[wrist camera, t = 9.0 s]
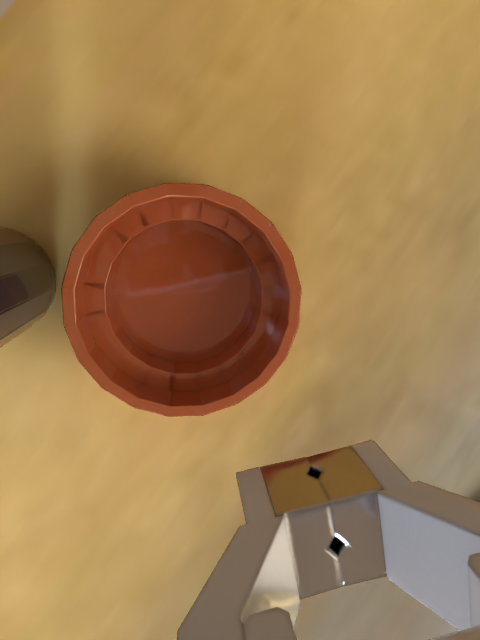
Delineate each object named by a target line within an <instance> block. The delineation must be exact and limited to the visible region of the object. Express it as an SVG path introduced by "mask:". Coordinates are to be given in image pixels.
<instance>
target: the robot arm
mask: <svg viewBox="0 0 480 640" xmlns="http://www.w3.org/2000/svg"><path fill="white" fill-rule="evenodd" d="M236 478H237V483H238V487H239V492H240V497H241V502H242V507H243V511H244V516H245V521H246V525H242V526H239V527H238V529H237V531H236V533H235V534H234V536H233V538H232V539H231V541H230V543H229V544H228V546H227V548H226V549H225V551H224V553H223V555H222V556H221V558H220V560H219V561H218V563H217V565H216V566H215V568H214V570H213V572H212V573H211V575H210V577H209V578H208V580H207V582H206V583H205V585H204V587H203V589H202V590H201V592H200V594H199V595H198V597H197V599H196V600H195V602H194V604H193V605H192V607H191V609H190V611H189V612H188V614H187V616H186V617H185V619H184V621H183V622H182V624H181V626H180V628H179V629H178V631H177V640H297V639H296V635H295V632H294V626H295V622H296V618H297V614H298V610H299V606H300V599H303V598H307V597H310V596H313V595H317V594H320V593H323V592H326V591H330V590H333V589H336V588H339V587H343V586H347V585H351V584H356V583H360V582H364V581H368V580H372V579H377V578H381V577H385V576H387V579H389V580H390V581H392V582H393V583H394V584H396V585H397V586H398V587H400V588H401V589H403V590H404V591H405V592H407V593H408V594H410V595H411V596H412V597H414V598H415V599H417V600H418V601H419V602H421V603H422V604H424V605H425V606H426V607H428V608H429V609H431V610H432V611H433V612H435V613H436V614H437V615H439V616H440V617H442V618H443V619H444V620H446V621H447V622H449V623H450V624H451V625H453V626H454V627H456V628H457V629H458V630H460V631H457V632H453V633H450V634H446V635H443V636H439V637H436V638H432V639H429V640H480V502H478V501H475V500H472V499H469V498H466V497H463V496H461V495H458V494H455V493H452V492H449V491H446V490H443V489H441V488H438V487H435V486H432V485H429V484H426V483H424V482H421V481H417V482H411V481H410V480H409V479H408V478H407V476H406V475H405V474H404V473H403V472H402V471H401V470H400V469H399V468H398V467H397V465H396V464H395V463H394V462H393V461H392V460H391V459H390V458H389V457H388V455H387V454H386V453H385V452H384V451H383V450H382V449H381V448H380V447H379V446H378V444H377V443H376V442H375V441H373V440H368V441H364V442H361V443H357V444H354V445H350V446H348V447H344V448H340V449H336V450H332V451H329V452H325V453H321V454H317V455H314V456H310V457H303V458H298V459H294V460H289V461H284V462H280V463H275V464H271V465H266V466H261V467H260V468H259V467H256V468H252V469H248V470H244V471H240V472H236Z"/></svg>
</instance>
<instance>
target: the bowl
mask: <svg viewBox="0 0 480 640" xmlns="http://www.w3.org/2000/svg"><path fill="white" fill-rule="evenodd" d="M61 293H62V308H63V323H64V325H65V326H64V328H65V330H66V332H67V335H68V337H69V340H70V342H71V344H72V347H73V349H74V352H75V354H76V356H77V359H78V361H79V362H80V363H81V364H82V366H83V367H84V368H85V369H86V370H87V371H88V373H89V374H90V375H91V376H92V377H93V378H94V380H95V381H96V382H97V383H98V384H99V385H100V386H101V388H103V389H104V390H106V391H108V392H109V393H111V394H112V395H114V396H116V397H117V398H119V399H121V400H122V401H124V402H125V403H127V404H129V405H130V406H132V407H134V408H137V409H141V410H145V411H148V412H152V413H156V414H160V415H164V416H168V417H177V416H203V415H206V414H209V413H212V412H215V411H218V410H221V409H224V408H227V407H230V406H233V405H236V404H238V403H240V402H241V401H242V400H244V399H245V398H247V397H248V396H250V395H251V394H253V393H254V392H255V391H257V390H258V389H260V388H261V387H263V386H264V385H265V384H266V383H267V382H268V381H269V379H270V378H271V377H272V376H273V374H274V373H275V372H276V370H277V369H278V368H279V367H280V365H281V364H282V363H283V362H284V360H285V359H286V357H287V356H288V353H289V350H290V348H291V345H292V343H293V340H294V338H295V335H296V332H297V330H298V327H299V325H298V324H299V322H300V306H301V285H300V281H299V277H298V273H297V269H296V266H295V262H294V258H293V255H292V253H291V251H290V249H289V248H288V246H287V245H286V243H285V242H284V240H283V238H282V237H281V235H280V234H279V232H278V231H277V229H276V227H275V226H274V224H272V222H271V221H270V220H268V219H267V218H266V217H265V216H264V215H262V214H261V213H260V212H259V211H257V210H256V209H255V208H254V207H253V206H251V205H250V204H249V203H248V202H246V201H245V200H244V199H242V198H240V197H238V196H235V195H232V194H230V193H227V192H225V191H222V190H219V189H217V188H214V187H212V186H209V185H205V184H185V183H163V184H160V185H156V186H153V187H150V188H146V189H143V190H139V191H136V192H133V193H129V194H128V195H125V196H124V197H122V198H121V199H120V200H118V201H117V202H115V203H114V204H113V205H111V206H110V207H108V208H107V209H105V210H104V211H103V212H101V213H100V214H98V215H97V216H96V217H95V218H94V219H93V220H92V222H91V223H90V224H89V226H88V227H87V229H86V230H85V232H84V233H83V234H82V236H81V237H80V239H79V240H78V242H77V243H76V244H75V246H74V247H73V249H72V251H71V254H70V258H69V261H68V265H67V268H66V272H65V275H64V279H63V283H62V288H61Z"/></svg>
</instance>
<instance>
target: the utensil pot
mask: <svg viewBox="0 0 480 640" xmlns="http://www.w3.org/2000/svg"><path fill="white" fill-rule="evenodd" d="M55 290H56V278H55V273H54V269H53V266H52V263H51V261H50V260H49V258H48V256H47V255H46V253H45V252H44V250H43V249H42V248H41V247H40V246H39V245H38V244H37V243H36V242H35V241H34V240H32V239H31V238H29V237H28V236H26V235H24V234H23V233H21V232H18V231H16V230H13V229H9V228H5V227H0V348H1V347H2V346H3V345H5V344H6V343H8V342H9V341H11V340H12V339H14V338H15V337H17V336H18V335H20V334H21V333H22V332H24V331H25V330H27V329H28V328H30V327H31V326H32V325H33V324H34V323H35V322H36V321H38V320H39V319H40V318H41V317H42V316H43V315H44V314H45V313H46V312H47V310H48V309H49V307H50V306H51V304H52V301H53V299H54V295H55Z"/></svg>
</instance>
